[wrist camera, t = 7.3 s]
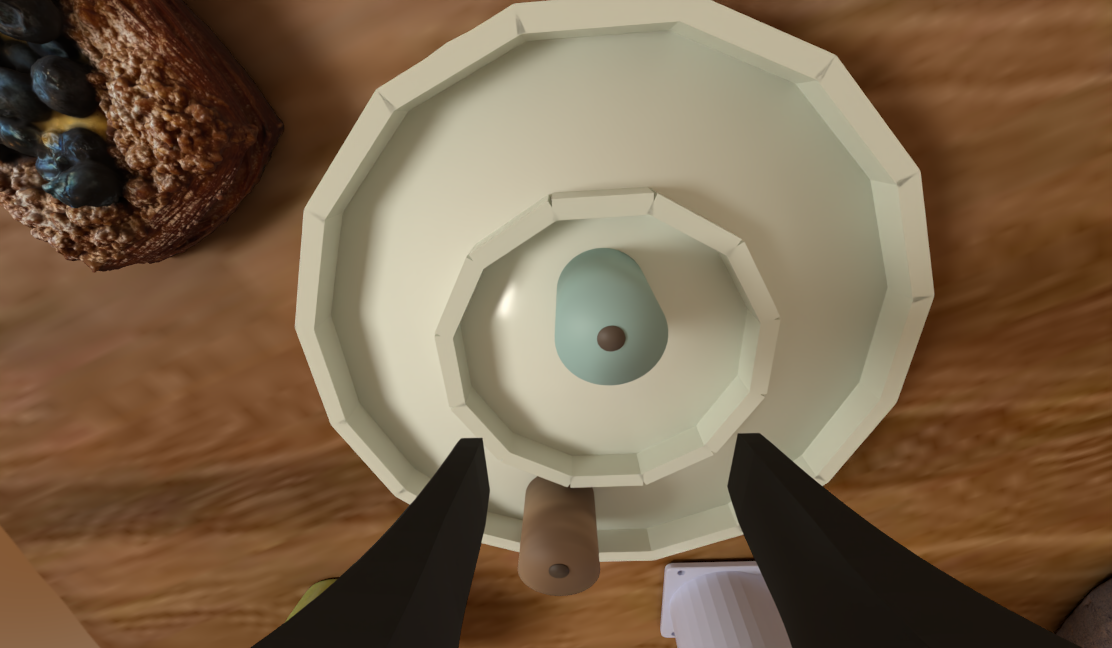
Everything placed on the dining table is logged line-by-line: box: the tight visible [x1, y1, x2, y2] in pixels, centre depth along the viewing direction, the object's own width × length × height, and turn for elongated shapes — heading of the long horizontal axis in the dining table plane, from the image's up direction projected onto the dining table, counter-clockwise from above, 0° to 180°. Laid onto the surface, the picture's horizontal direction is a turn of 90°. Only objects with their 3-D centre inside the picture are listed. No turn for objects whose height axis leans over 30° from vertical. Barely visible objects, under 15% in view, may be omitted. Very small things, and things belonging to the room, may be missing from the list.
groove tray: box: [295, 0, 934, 562], centre depth 20 cm, size 28×28×2 cm
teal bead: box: [555, 248, 668, 385], centre depth 17 cm, size 4×4×5 cm
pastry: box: [0, 0, 284, 272], centre depth 14 cm, size 11×12×6 cm
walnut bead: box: [518, 476, 600, 596], centre depth 23 cm, size 4×4×5 cm
